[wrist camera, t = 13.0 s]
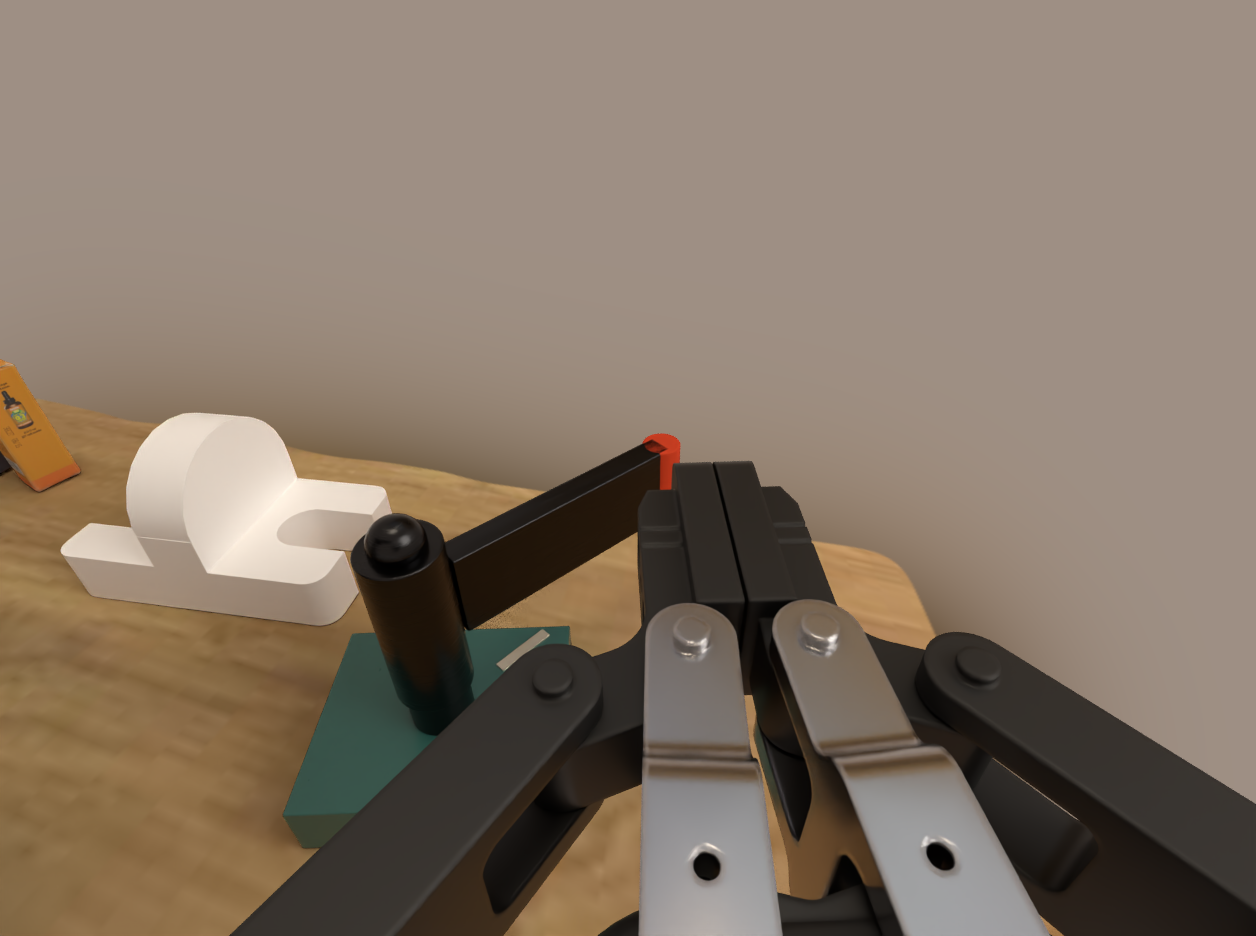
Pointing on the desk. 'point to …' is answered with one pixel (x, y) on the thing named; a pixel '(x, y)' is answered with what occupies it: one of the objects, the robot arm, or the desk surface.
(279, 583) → the white slotted bracket
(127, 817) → the desk surface
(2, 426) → the supplement box
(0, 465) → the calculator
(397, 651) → the black l-shaped bar
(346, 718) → the stand
